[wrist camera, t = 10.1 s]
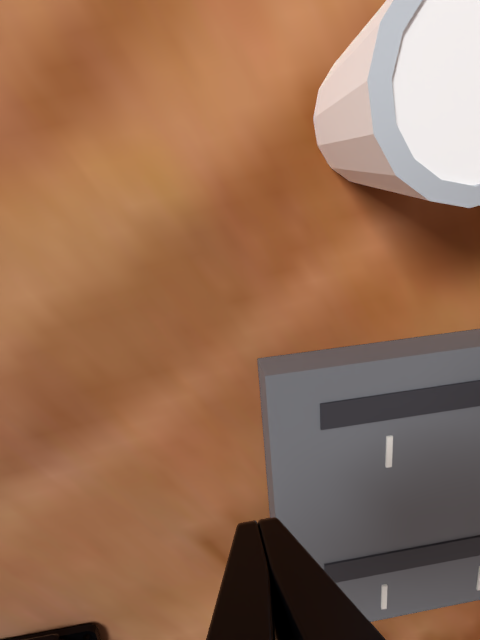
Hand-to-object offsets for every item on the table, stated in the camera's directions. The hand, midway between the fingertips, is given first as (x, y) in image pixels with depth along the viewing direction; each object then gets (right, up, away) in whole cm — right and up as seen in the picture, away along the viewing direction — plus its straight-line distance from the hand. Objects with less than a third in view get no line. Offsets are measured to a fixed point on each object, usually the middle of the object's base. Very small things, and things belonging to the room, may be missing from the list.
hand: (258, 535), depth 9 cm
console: (+13, -4, +16) cm, 21 cm away
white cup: (+5, +13, +9) cm, 17 cm away
